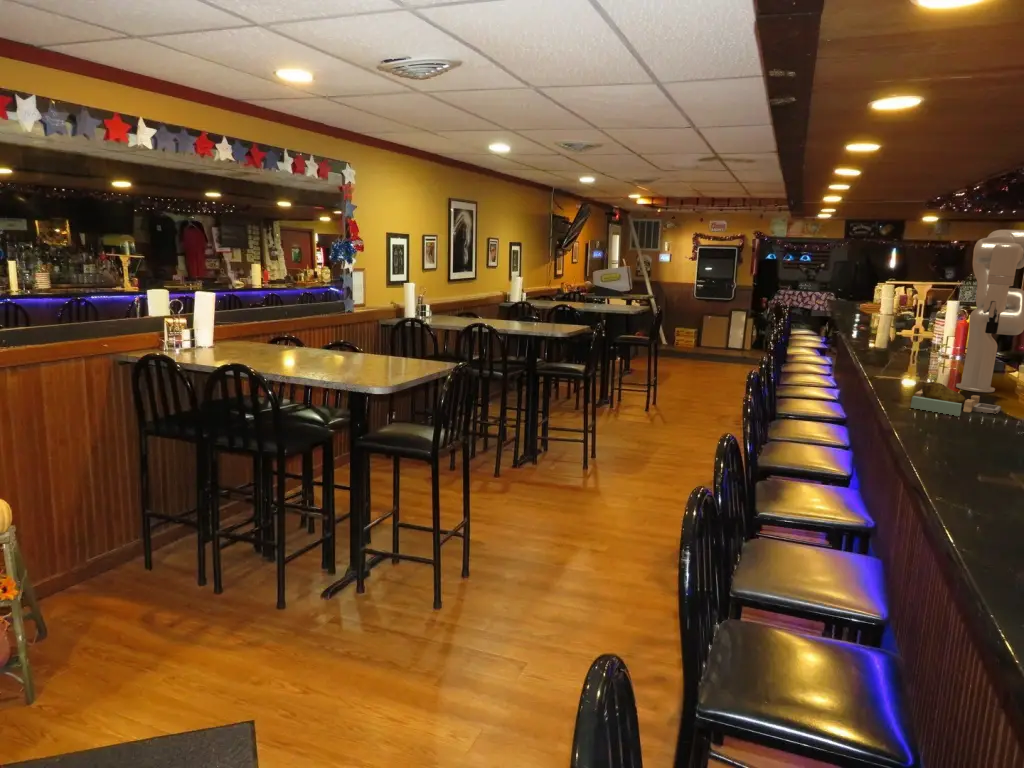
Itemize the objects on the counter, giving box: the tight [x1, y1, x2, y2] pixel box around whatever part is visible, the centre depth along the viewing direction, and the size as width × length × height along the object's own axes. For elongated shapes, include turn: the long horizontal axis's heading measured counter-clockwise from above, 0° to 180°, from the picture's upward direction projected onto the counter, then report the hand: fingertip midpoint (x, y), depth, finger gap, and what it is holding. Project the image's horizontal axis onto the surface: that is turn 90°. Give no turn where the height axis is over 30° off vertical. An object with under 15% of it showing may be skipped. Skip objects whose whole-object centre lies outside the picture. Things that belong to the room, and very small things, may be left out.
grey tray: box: [972, 402, 1002, 415], centre depth 233 cm, size 9×6×2 cm
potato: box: [921, 381, 967, 407], centre depth 237 cm, size 8×13×8 cm, turn 49°
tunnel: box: [913, 389, 981, 413], centre depth 240 cm, size 14×17×4 cm
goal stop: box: [910, 395, 963, 417], centre depth 228 cm, size 2×14×4 cm, turn 48°
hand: (990, 333), depth 243 cm, fingers closed
